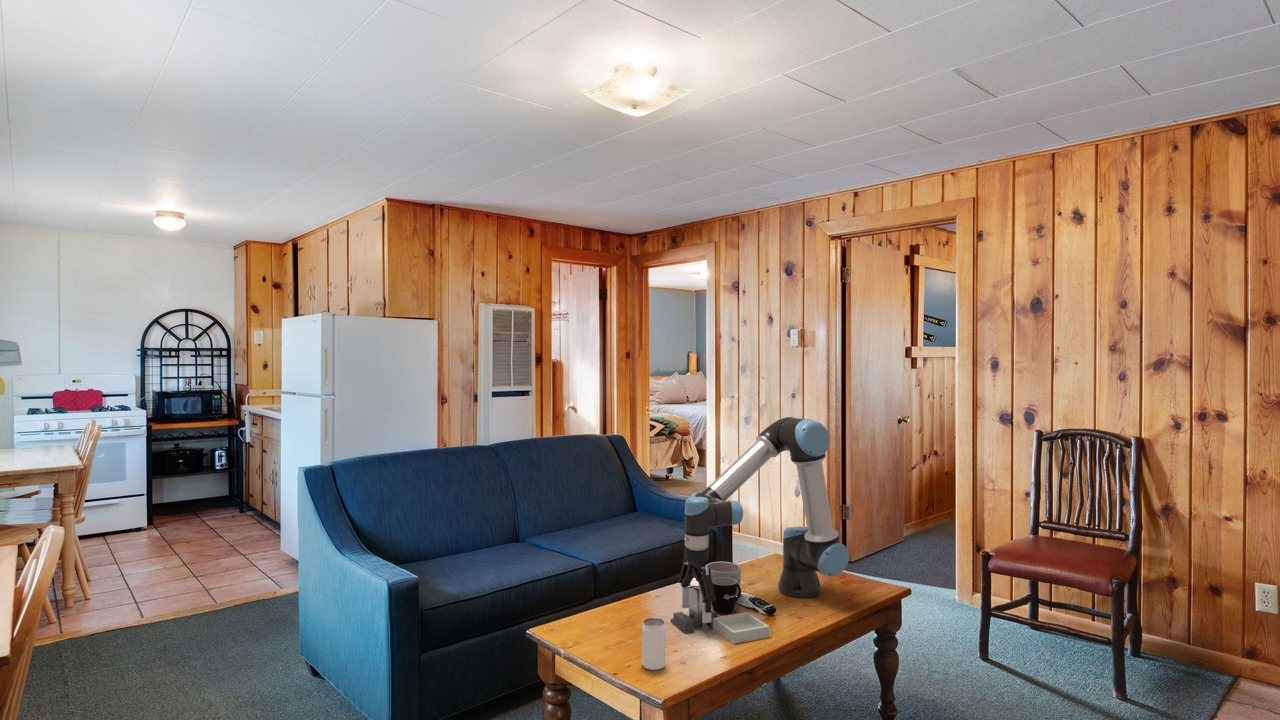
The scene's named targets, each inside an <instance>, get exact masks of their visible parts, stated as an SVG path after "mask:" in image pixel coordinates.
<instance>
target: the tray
mask: <svg viewBox="0 0 1280 720" xmlns="http://www.w3.org/2000/svg"><path fill="white" fill-rule="evenodd" d="M712 630H714V631H715V632H716V633H718V634H719V635H721V636H722V637H723V638H725V639H726V640H727V641H729V642H731V643H732V644H733V645H734V644H741V643H746V642H750V641H756V640H762V639H767V638H770V625H768V624H767V623H764V621H762V620H760V619H758V618H757V617H756V616H754V615H752V614H751V613H749V612H747V611H745V612H739V613H731V614H725V615H721V616H720V615H719V617H717V618H713V629H712Z"/></svg>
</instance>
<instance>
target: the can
mask: <svg viewBox="0 0 1280 720" xmlns="http://www.w3.org/2000/svg"><path fill="white" fill-rule="evenodd" d="M666 630H667V629H666V625H665V620H663V619H661V618H657V617H649V618H646V619H644V620H643V625H642V628H641V666H642V667H643V668H644V669H646V670H649V671H659V670H663V668H665V666H666V655H667V653H666V651H667V650H666V647H667V646H666V645H667V644H666V643H667V642H666V632H667V631H666Z"/></svg>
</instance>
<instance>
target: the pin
mask: <svg viewBox="0 0 1280 720" xmlns="http://www.w3.org/2000/svg"><path fill="white" fill-rule="evenodd" d="M688 587H689V608H688V616H689V618H691V619H692V620H693V621H694V630H698V629H699V630H700V629H703V628H704V624H703V623H702V601H703V600H704V599H703V596H702V593H701V589H700V586H699V585H697V584H696V585H691V586H688Z"/></svg>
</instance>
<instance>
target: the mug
mask: <svg viewBox="0 0 1280 720" xmlns="http://www.w3.org/2000/svg"><path fill="white" fill-rule="evenodd" d="M712 583H713V588H714V593H715V597H716V601H713V602H712V603H711V608H712V610H713V612H714V613H715V614H717V615H732V614H733V613H734V610H735V607H736V603H737V601H738V600H740V598H741V595H742V588H741V585H740V586H739V585H738V584H737V581H736V580H735V579H733V578H730V577H714V578H712ZM737 587H738V595H737ZM736 596H737V597H736Z"/></svg>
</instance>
